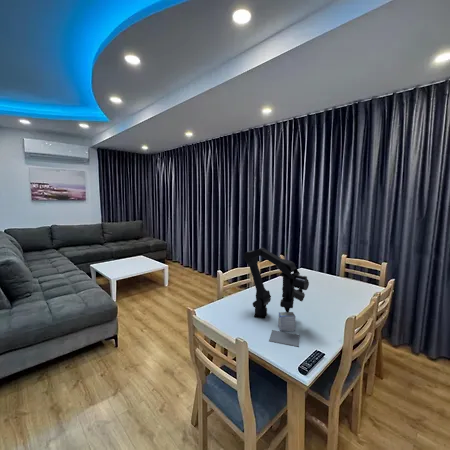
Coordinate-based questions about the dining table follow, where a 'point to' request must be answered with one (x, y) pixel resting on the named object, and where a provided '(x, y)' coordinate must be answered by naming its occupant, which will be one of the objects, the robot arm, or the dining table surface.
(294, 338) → the mat
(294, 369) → the dining table surface
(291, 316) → the medicine box
